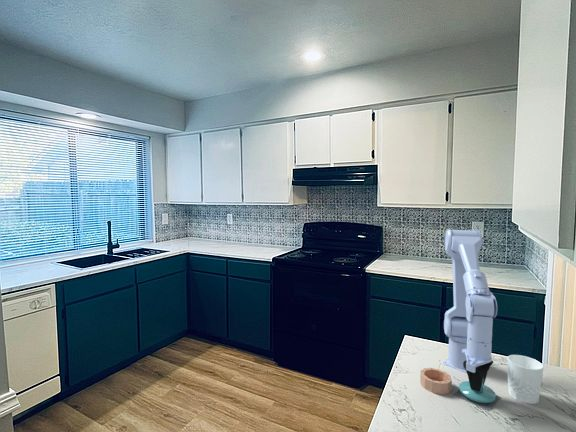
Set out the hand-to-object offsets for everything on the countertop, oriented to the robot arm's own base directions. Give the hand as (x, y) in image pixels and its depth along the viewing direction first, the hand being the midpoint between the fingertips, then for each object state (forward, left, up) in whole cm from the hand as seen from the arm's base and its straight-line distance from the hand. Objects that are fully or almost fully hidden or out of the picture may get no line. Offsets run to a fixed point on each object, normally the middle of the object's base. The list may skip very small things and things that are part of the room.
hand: (477, 387), depth 88 cm
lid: (0, 0, -2) cm, 2 cm away
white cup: (-10, +8, -3) cm, 13 cm away
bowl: (+4, -9, -3) cm, 11 cm away
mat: (0, 0, -3) cm, 3 cm away
